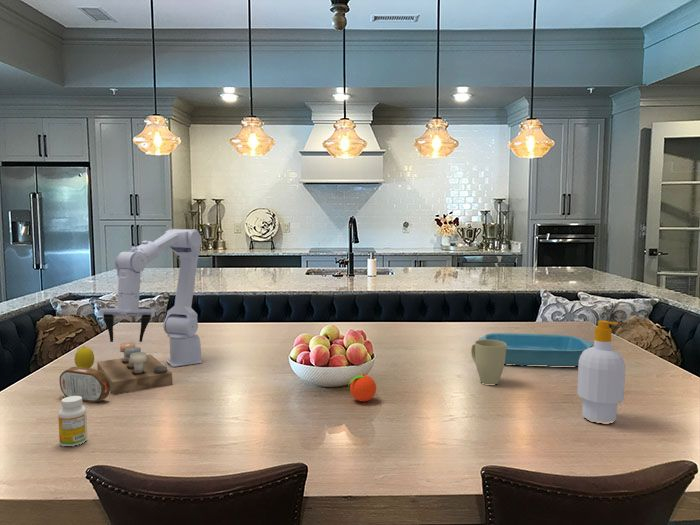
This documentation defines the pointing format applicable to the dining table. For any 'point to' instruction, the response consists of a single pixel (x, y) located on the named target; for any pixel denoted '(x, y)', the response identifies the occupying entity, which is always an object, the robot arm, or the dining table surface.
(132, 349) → the knob slate
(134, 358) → the knob cream
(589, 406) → the soap bottle
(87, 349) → the lemon
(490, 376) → the mug
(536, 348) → the casserole dish
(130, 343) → the peach pink ball
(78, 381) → the tin
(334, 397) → the dining table surface
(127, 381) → the board
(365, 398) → the clementine
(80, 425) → the supplement bottle
